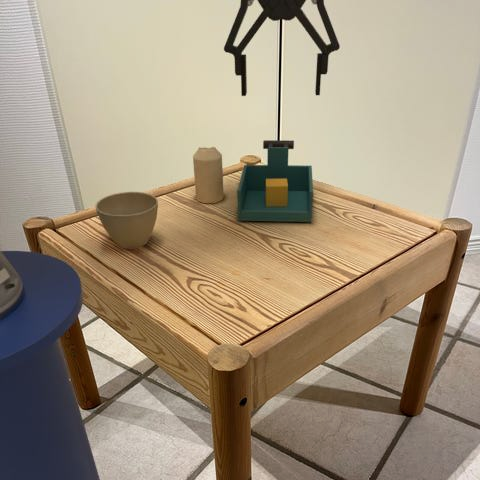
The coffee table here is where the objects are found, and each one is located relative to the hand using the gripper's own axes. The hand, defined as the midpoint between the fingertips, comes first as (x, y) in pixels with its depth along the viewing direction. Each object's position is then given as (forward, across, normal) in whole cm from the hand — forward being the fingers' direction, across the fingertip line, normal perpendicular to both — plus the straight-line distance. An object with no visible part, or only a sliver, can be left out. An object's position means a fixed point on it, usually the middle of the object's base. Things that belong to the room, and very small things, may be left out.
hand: (280, 94), depth 95 cm
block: (+17, 0, +10) cm, 20 cm away
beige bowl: (+18, +24, +26) cm, 39 cm away
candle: (+18, +14, +6) cm, 24 cm away
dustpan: (+18, 0, +8) cm, 20 cm away
